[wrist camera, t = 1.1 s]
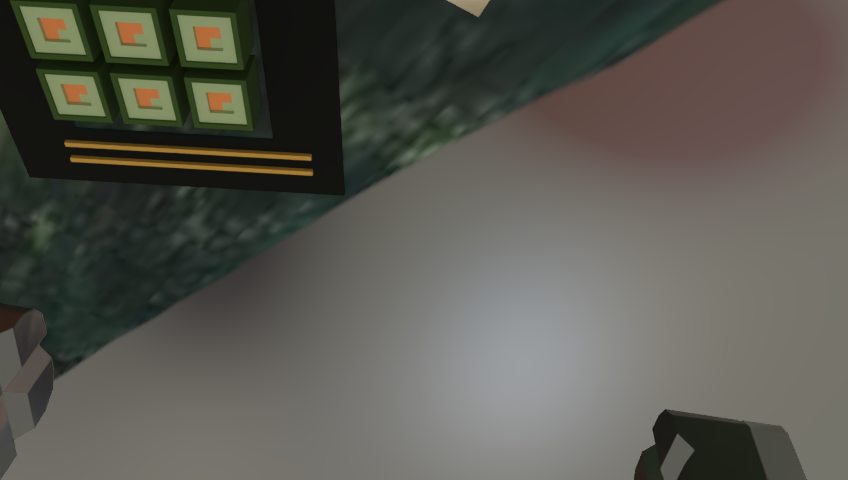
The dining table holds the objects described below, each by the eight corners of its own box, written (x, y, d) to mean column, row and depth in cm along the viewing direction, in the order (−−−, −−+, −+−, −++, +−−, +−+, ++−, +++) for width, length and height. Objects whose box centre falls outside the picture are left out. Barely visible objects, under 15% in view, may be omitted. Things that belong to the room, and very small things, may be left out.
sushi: (34, 169, 62) (14, 201, 60) (-107, -165, 44) (-144, -142, 42) (345, 187, 62) (339, 220, 59) (328, -142, 44) (319, -117, 42)
